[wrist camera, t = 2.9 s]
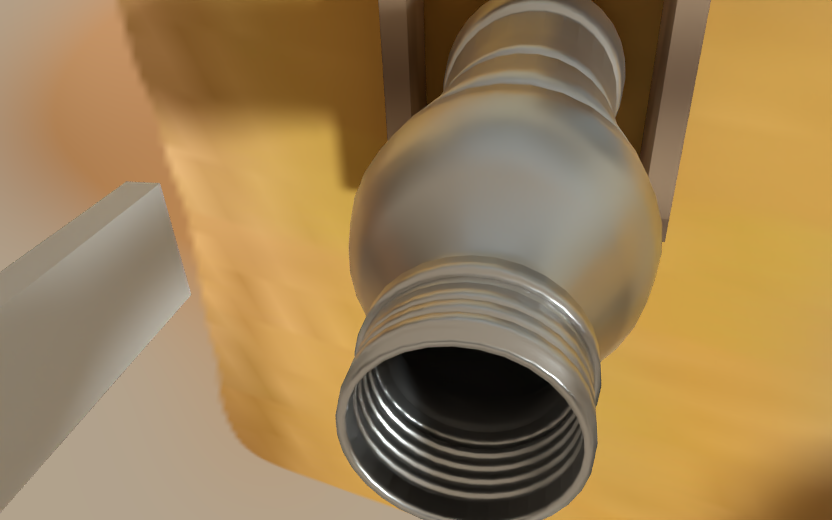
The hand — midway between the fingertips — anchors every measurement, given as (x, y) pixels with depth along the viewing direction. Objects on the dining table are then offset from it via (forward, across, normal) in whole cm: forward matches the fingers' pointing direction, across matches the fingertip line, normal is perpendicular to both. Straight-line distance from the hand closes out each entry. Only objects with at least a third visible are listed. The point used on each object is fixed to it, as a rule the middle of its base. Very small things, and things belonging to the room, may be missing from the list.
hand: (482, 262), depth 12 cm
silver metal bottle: (+16, 0, 0) cm, 16 cm away
